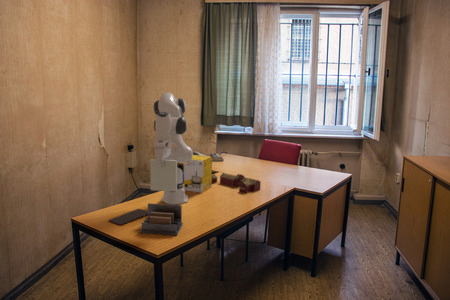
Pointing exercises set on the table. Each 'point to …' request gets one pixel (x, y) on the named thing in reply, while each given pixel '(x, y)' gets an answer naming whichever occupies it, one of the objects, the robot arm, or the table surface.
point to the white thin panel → (163, 175)
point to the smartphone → (129, 217)
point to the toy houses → (238, 182)
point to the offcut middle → (163, 215)
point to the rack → (163, 228)
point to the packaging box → (198, 174)
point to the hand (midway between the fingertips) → (163, 165)
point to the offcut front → (160, 220)
